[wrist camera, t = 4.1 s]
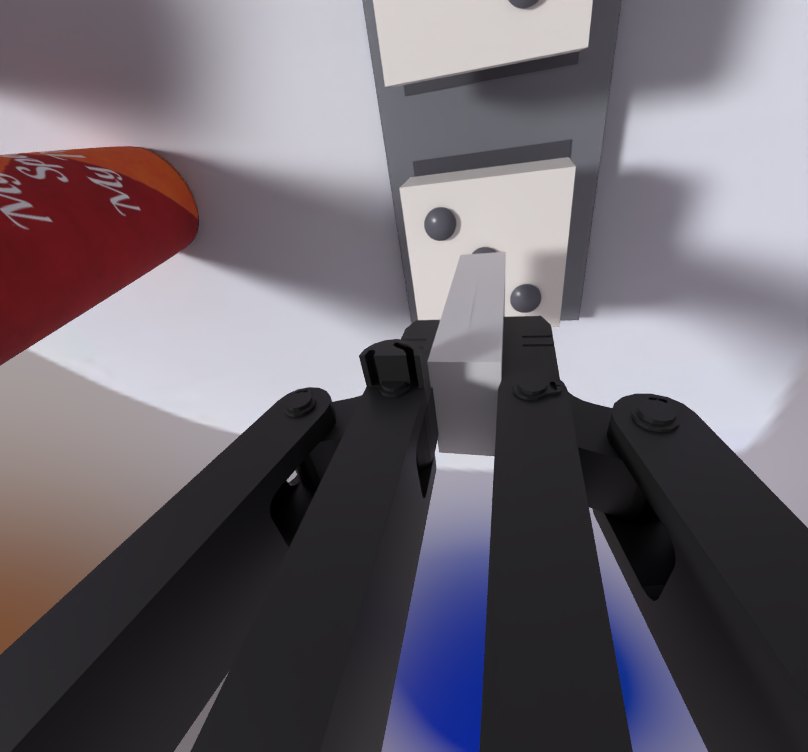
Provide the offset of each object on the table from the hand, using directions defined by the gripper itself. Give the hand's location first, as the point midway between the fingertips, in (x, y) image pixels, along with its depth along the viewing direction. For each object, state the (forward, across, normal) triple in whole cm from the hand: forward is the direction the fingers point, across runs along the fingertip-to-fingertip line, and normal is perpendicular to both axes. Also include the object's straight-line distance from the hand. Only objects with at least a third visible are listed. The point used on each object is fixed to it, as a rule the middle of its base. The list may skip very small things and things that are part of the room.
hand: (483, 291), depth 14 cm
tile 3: (+4, 0, 0) cm, 4 cm away
